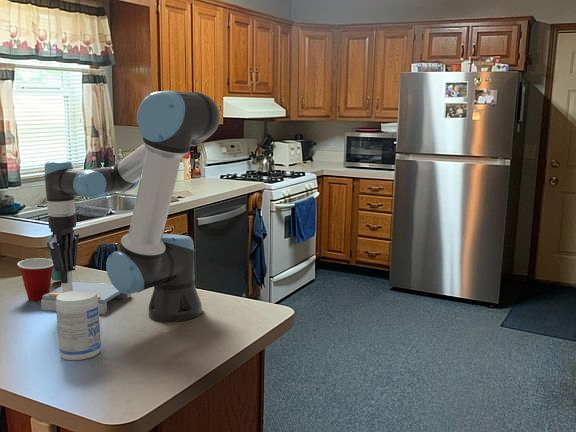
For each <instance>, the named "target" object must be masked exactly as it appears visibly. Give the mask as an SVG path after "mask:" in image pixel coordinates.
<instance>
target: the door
mask: <svg viewBox="0 0 576 432" xmlns="http://www.w3.org/2000/svg"><path fill="white" fill-rule="evenodd" d="M72 286H73V291H75V290H91V291H95V292H96V293H97V298H98V303H106V302H109V301H111V300H113V298H114V297H115V296H117V295H119V294H120V293H122V292H120V291H119V290H117V289H116V288H115V287H114V286H113V284H112V283H104V282H103V283H102V282H89V281H86V282H85V281H73V280H72ZM59 294H62V285H60V286H59V287H57V288H55V289H54V290H51V291H49V293H47V294H45V295H43V296H42V299H50V300H56V297H57V296H58V295H59Z"/></svg>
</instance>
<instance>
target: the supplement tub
mask: <svg viewBox="0 0 576 432" xmlns="http://www.w3.org/2000/svg"><path fill="white" fill-rule="evenodd" d="M55 313H56V322H57V335H58V347H59V348H58V349H59V355H60V356H61V358H62V359H64V360H68V361H81V360H87V359H90V358H93V357H95V356H97V355H98V354H99V353H100V352H101V349H102V342H101V341H102V339H101V326H100V314H99V305H98V298H97V293H96V292H95V291H91V290H75V291H69V292H65V293H62V294H59V295H58V296H57V297H56V311H55Z"/></svg>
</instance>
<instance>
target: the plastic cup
mask: <svg viewBox="0 0 576 432" xmlns="http://www.w3.org/2000/svg"><path fill="white" fill-rule="evenodd" d="M53 266H54V265H53V261H52V260H51V259H50V258H43V257H42V258H40V257H38V258H37V257H35V258H34V257H33V258H26V259H24V260H23V259H22V260H20V261H18V262H17V267H19V271H20V274H21V277H22V281H23V286H24V289H25V292H26V296H27V298H28V300H29V302H41V300H42V296H43V295H45V294H47V293H49V292H50V290H51V289H50V288H51V283H52V278H51V275H52V270H53Z"/></svg>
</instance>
